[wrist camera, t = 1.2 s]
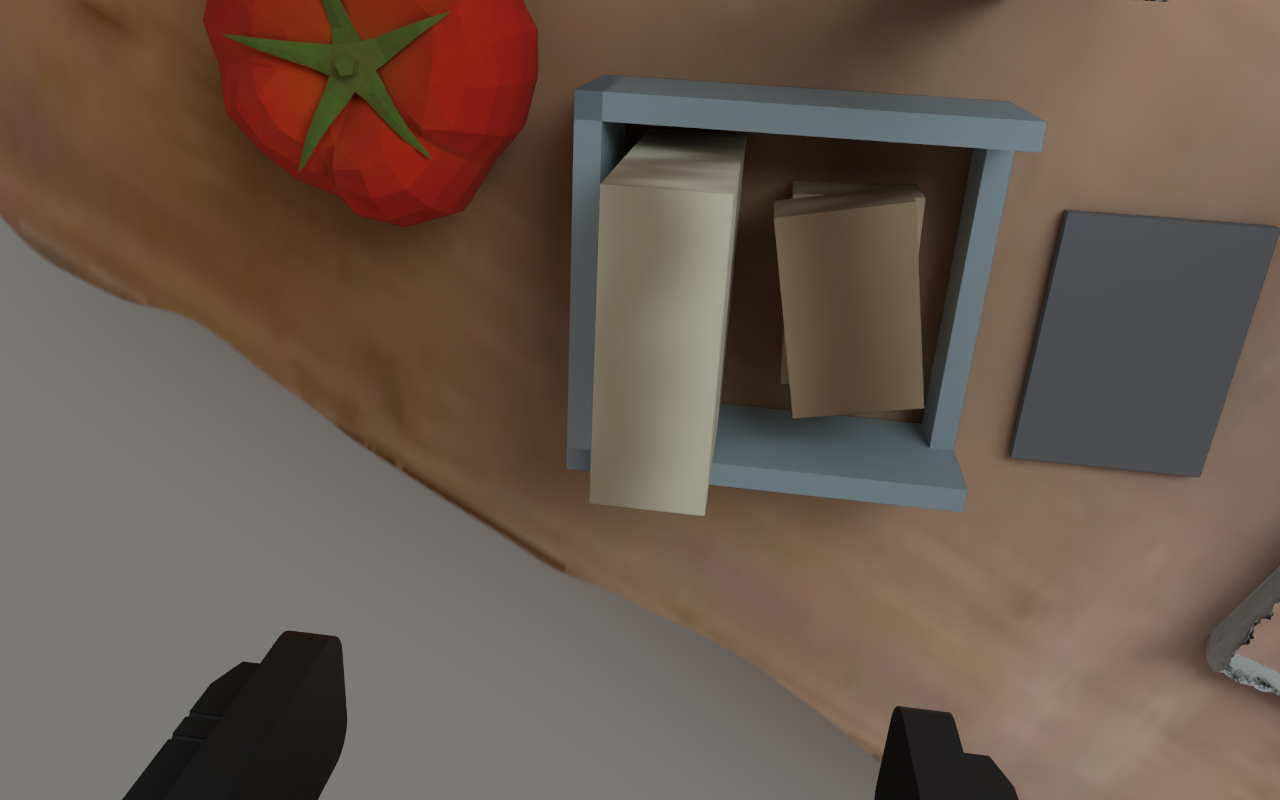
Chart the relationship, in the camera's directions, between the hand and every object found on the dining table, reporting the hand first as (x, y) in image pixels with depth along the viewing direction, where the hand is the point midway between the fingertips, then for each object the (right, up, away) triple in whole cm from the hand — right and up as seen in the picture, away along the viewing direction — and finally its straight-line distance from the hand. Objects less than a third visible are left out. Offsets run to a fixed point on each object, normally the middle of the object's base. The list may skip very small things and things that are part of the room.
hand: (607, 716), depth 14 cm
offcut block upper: (+9, +9, +25) cm, 28 cm away
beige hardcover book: (+3, +11, +28) cm, 30 cm away
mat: (+21, +7, +27) cm, 35 cm away
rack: (+7, +10, +27) cm, 30 cm away
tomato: (-9, +19, +26) cm, 34 cm away
